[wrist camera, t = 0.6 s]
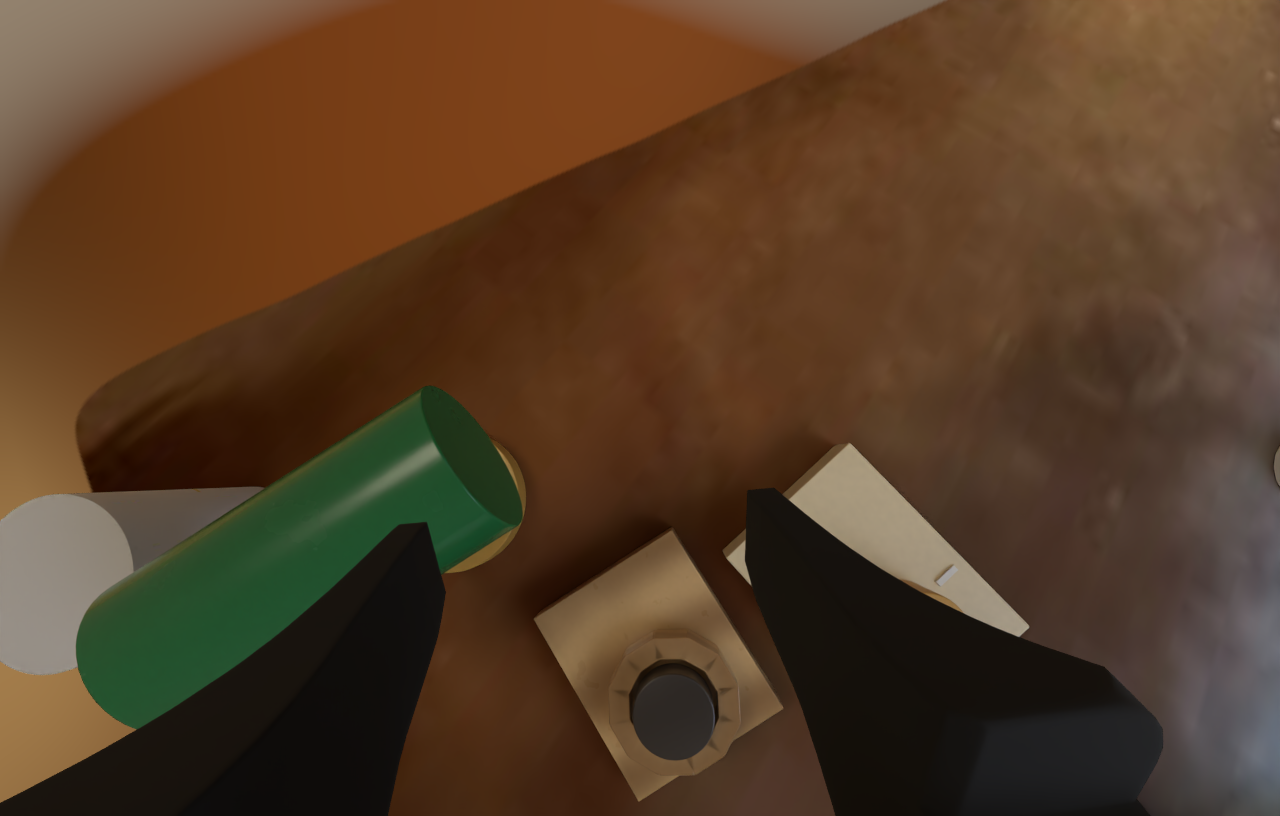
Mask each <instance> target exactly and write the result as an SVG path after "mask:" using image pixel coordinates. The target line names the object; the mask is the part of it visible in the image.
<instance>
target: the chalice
mask: <svg viewBox="0 0 1280 816" xmlns="http://www.w3.org/2000/svg"><path fill="white" fill-rule="evenodd" d="M1274 471H1275V476H1276V481H1277V482H1278V484H1279V486H1280V447H1279V449H1278V451H1277V452H1276V454H1275V461H1274Z"/></svg>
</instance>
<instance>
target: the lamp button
mask: <svg viewBox="0 0 1280 816" xmlns="http://www.w3.org/2000/svg"><path fill="white" fill-rule="evenodd" d="M632 718H633V725H634V729H635V732H636V734H637V736H638V738H639V740H640V741H641V743H642V744H643V745H644V746H645V748H646V749H648V750H649V751H650V752H651V753H653V754H654V755H656V756H658V757H660V758H663V759H666V760H674V761H677V760H684V759H688V758H690V757H692V756H694V755H696V754H697V753H699V752H700V751H701V750H702V749H703V748H704V747H705V746H706V745H707V743H708V742H709V740H710V738H711V736H712V734H713V730H714V726H715V711H714V704H713V698H712V694H711V691H710V688H709V686H708V684H707V683H706V681H705V680H704V678H703V677H702V676H701V675H700V674H699V673H698V672H696V671H695V670H694V669H692V668H690V667H688V666H685V665H682V664H677V663H669V664H663V665H660V666H657V667H656V668H654V669H652V670H651V671H649V672H648V673H647V674H646V675H645V676H644V677H643V679H642V680H641V682H640V684H639V686H638V688H637V691H636V695H635V700H634V705H633V713H632Z"/></svg>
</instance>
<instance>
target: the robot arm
mask: <svg viewBox="0 0 1280 816" xmlns="http://www.w3.org/2000/svg"><path fill="white" fill-rule="evenodd" d="M745 563H746V567H747V571H748V574H749V578H750V581H751V585H752V588H753V591H754V595H755V598H756V601H757V603H758V606H759V608H760V611H761V613H762V615H763V618H764V620H765V622H766V625H767V627H768V629H769V632H770V634H771V636H772V638H773V641H774V643H775V645H776V648H777V650H778V652H779V655H780V657H781V659H782V661H783V664H784V666H785V668H786V671H787V673H788V675H789V678H790V680H791V682H792V684H793V687H794V689H795V692H796V694H797V697H798V699H799V702H800V705H801V707H802V710H803V713H804V716H805V719H806V722H807V725H808V728H809V731H810V734H811V738H812V741H813V744H814V747H815V750H816V753H817V756H818V759H819V763H820V766H821V769H822V772H823V776H824V779H825V782H826V786H827V789H828V792H829V795H830V799H831V802H832V805H833V809H834V812H835V815H836V816H1150V814H1149V813H1148V812H1147V811H1146V810H1145V809H1144V807H1143V806H1142V805H1141V804H1140V803H1139V801H1138V800H1137V799H1136V798H1137V797H1138V795H1139V793H1140V792H1141V790H1142V788H1143V786H1144V785H1145V783H1146V781H1147V779H1148V778H1149V776H1150V774H1151V772H1152V771H1153V769H1154V767H1155V765H1156V764H1157V762H1158V759H1159V757H1160V754H1161V751H1162V749H1163V729H1162V727H1161V726H1160V724H1159V722H1158V721H1157V719H1156V718H1155V717H1154V716H1153V715H1152V714H1151V713H1150V712H1149V711H1148V710H1147V709H1146V708H1145V707H1144V706H1143V705H1142V704H1141V703H1140V702H1139V701H1138V700H1137V699H1136V698H1135V697H1134V696H1133V695H1132V694H1131V693H1130V692H1129V691H1128V690H1127V689H1126V688H1125V687H1124V686H1123V685H1122V684H1121V683H1120V682H1119V681H1118V680H1117V679H1116V678H1115V677H1114V676H1113V675H1112V674H1111V673H1110V672H1109V671H1108V670H1107V669H1106V668H1105V667H1103V666H1100V665H1097V664H1094V663H1091V662H1088V661H1085V660H1082V659H1079V658H1076V657H1073V656H1071V655H1068V654H1065V653H1062V652H1059V651H1056V650H1053V649H1050V648H1047V647H1044V646H1041V645H1038V644H1036V643H1033V642H1030V641H1028V640H1025V639H1023V638H1020V637H1018V636H1015V635H1013V634H1010V633H1008V632H1005V631H1003V630H1001V629H998V628H996V627H993V626H991V625H989V624H986V623H984V622H982V621H980V620H977V619H975V618H973V617H971V616H968V615H966V614H964V613H962V612H960V611H958V610H956V609H954V608H952V607H950V606H948V605H946V604H944V603H942V602H939V601H937V600H935V599H934V598H932V597H930V596H928V595H926V594H924V593H922V592H920V591H918V590H917V589H915V588H913V587H911V586H910V585H908V584H906V583H905V582H903V581H901V580H899V579H898V578H896V577H894V576H892V575H891V574H889V573H887V572H886V571H884V570H883V569H881V568H879V567H878V566H876V565H875V564H873V563H872V562H870V561H869V560H867V559H866V558H864V557H863V556H861V555H860V554H859V553H857V552H856V551H854V550H853V549H851V548H850V547H848V546H847V545H846V544H844V543H843V542H841V541H840V540H839V539H837V538H836V537H835V536H833V535H832V534H831V533H829V532H828V531H827V530H826V529H824V528H823V527H822V526H820V525H819V524H818V523H817V522H815V521H814V520H813V519H812V518H810V517H809V516H808V515H807V514H805V513H804V512H803V511H802V510H800V509H799V508H798V507H797V506H796V505H794V504H793V503H792V502H791V501H790V500H788V499H787V498H786V497H785V496H783V495H782V494H781V493H780V492H779V491H777V490H776V489H775V488H766V489H756V490H748V491H747V516H746V540H745ZM445 594H446V591H445V587H444V584H443V580H442V576H441V572H440V569H439V565H438V561H437V557H436V554H435V550H434V546H433V543H432V539H431V535H430V531H429V528H428V524H427V522H419V523H409V524H399V525H398V526H397V527H395V528H394V529H393V530H392V531H391V532H390V533H389V534H388V535H387V536H386V537H385V538H383V539H382V540H381V541H380V542H379V543H378V544H377V545H376V546H375V547H374V548H373V549H372V550H371V551H370V552H369V553H368V554H367V555H366V556H365V557H364V558H363V559H362V560H361V561H360V562H359V563H358V564H357V565H355V566H354V567H353V568H352V569H351V570H350V571H349V572H348V573H347V574H346V575H345V576H344V577H343V578H342V579H341V580H340V581H339V582H337V583H336V584H335V585H334V586H333V587H332V588H331V589H330V590H329V591H328V592H327V593H325V594H324V595H323V596H322V597H321V598H320V599H318V600H317V601H316V602H315V603H314V604H313V605H312V606H310V607H309V608H308V609H307V610H306V611H305V612H304V613H302V614H301V615H300V616H299V617H298V618H297V619H296V620H294V621H293V622H292V623H291V624H290V625H288V626H287V627H286V628H285V629H284V630H282V631H281V632H280V633H279V634H277V635H276V636H275V637H274V638H272V639H271V640H270V641H268V642H267V643H266V644H265V645H263V646H262V647H261V648H259V649H258V650H256V651H255V652H254V653H252V654H251V655H250V656H248V657H247V658H246V659H244V660H243V661H242V662H240V663H239V664H238V665H236V666H235V667H233V668H232V669H231V670H229V671H228V672H226V673H225V674H223V675H222V676H220V677H219V678H217V679H216V680H214V681H213V682H211V683H210V684H208V685H207V686H205V687H204V688H202V689H201V690H199V691H198V692H196V693H195V694H193V695H192V696H190V697H189V698H187V699H186V700H184V701H183V702H181V703H180V704H178V705H177V706H175V707H173V708H172V709H170V710H169V711H167V712H165V713H164V714H162V715H160V716H159V717H157V718H155V719H154V720H152V721H151V722H149V723H147V724H146V725H144V726H142V727H141V728H139V729H137V730H136V731H134V732H132V733H130V734H129V735H127V736H125V737H123V738H122V739H120V740H118V741H116V742H115V743H113V744H111V745H109V746H108V747H106V748H104V749H102V750H101V751H99V752H97V753H95V754H93V755H92V756H90V757H88V758H86V759H84V760H82V761H81V762H79V763H77V764H75V765H73V766H71V767H69V768H67V769H65V770H63V771H61V772H59V773H57V774H56V775H54V776H52V777H50V778H48V779H46V780H44V781H42V782H40V783H38V784H36V785H34V786H33V787H31V788H29V789H27V790H25V791H23V792H21V793H19V794H17V795H15V796H13V797H11V798H9V799H7V800H5V801H3V802H1V803H0V816H388V812H389V807H390V803H391V798H392V794H393V789H394V784H395V780H396V775H397V770H398V766H399V761H400V757H401V754H402V750H403V746H404V743H405V739H406V736H407V732H408V729H409V726H410V723H411V720H412V717H413V714H414V711H415V707H416V704H417V701H418V698H419V695H420V692H421V689H422V686H423V683H424V679H425V676H426V673H427V670H428V667H429V664H430V660H431V657H432V654H433V651H434V648H435V644H436V641H437V638H438V634H439V628H440V623H441V618H442V612H443V606H444V600H445Z"/></svg>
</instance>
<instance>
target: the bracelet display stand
mask: <svg viewBox="0 0 1280 816" xmlns="http://www.w3.org/2000/svg"><path fill="white" fill-rule="evenodd" d="M525 507H526V488H525V483H524V478H523V476H522V473H521V470H520V468H519V466H518V464H517V462H516V461H515V459H514V458H513V457H512V455H511V454H510V453H509V452H508V451H507V450H506V449H505V448H504V447H503V446H502V445H501V444H499V443H498V442H496V441H495V440H493V439H491V438H489V437H488V436H487V434H486V433H485V432H484V430H483V429H482V428H481V426H480V425H479V424H478V423H477V421H476V420H475V419H474V418H473V417H472V416H471V415H470V413H469V412H468V411H467V410H466V409H465V408H464V407H463V406H462V405H461V404H460V403H459V402H458V401H456V400H455V399H454V398H453V397H452V396H450V395H449V394H448V393H446V392H445V391H443V390H441V389H439V388H437V387H435V386H425V387H423V388H421V389H420V390H418V391H416V392H415V393H413V394H412V395H410V396H409V397H407V398H405V399H404V400H402V401H401V402H399V403H398V404H396V405H394V406H393V407H391V408H390V409H388V410H387V411H385V412H384V413H382V414H380V415H379V416H377V417H376V418H374V419H373V420H371V421H369V422H368V423H366V424H365V425H363V426H362V427H360V428H358V429H357V430H355V431H354V432H352V433H351V434H349V435H347V436H346V437H344V438H343V439H341V440H340V441H338V442H337V443H335V444H333V445H332V446H330V447H329V448H327V449H326V450H324V451H322V452H321V453H319V454H318V455H316V456H315V457H313V458H311V459H310V460H308V461H307V462H305V463H304V464H302V465H301V466H299V467H297V468H296V469H294V470H293V471H291V472H290V473H288V474H286V475H285V476H283V477H282V478H280V479H279V480H277V481H275V482H274V483H272V484H271V485H269V486H268V487H266V488H265V489H263V490H261V491H260V492H258V493H257V494H255V495H254V496H252V497H250V498H249V499H247V500H246V501H244V502H243V503H241V504H239V505H238V506H236V507H235V508H233V509H232V510H230V511H229V512H227V513H225V514H224V515H222V516H221V517H219V518H218V519H216V520H214V521H213V522H211V523H210V524H208V525H207V526H205V527H203V528H202V529H200V530H199V531H197V532H196V533H194V534H193V535H191V536H189V537H188V538H186V539H185V540H183V541H182V542H180V543H178V544H177V545H175V546H174V547H172V548H171V549H169V550H167V551H166V552H164V553H163V554H161V555H160V556H158V557H156V558H155V559H153V560H152V561H150V562H149V563H147V564H146V565H144V566H142V567H141V568H139V569H138V570H136V571H135V572H133V573H131V574H130V575H128V576H127V577H125V578H124V579H122V580H120V581H119V582H117V583H116V584H114V585H113V586H111V587H110V588H108V589H107V590H105V591H104V592H103V593H102V594H100V595H99V596H98V597H97V598H96V599H95V600H94V601H93V602H92V604H91V605H90V607H89V608H88V610H87V611H86V612H85V614H84V616H83V619H82V621H81V623H80V626H79V629H78V633H77V638H76V660H77V665H78V670H79V673H80V675H81V678H82V681H83V683H84V685H85V687H86V688H87V690H88V692H89V693H90V695H91V696H92V697H93V699H94V700H95V701H96V703H98V705H99V706H101V708H102V709H103V710H104V711H105V712H107V713H108V714H109V715H111V716H112V717H113V718H115V719H116V720H118V721H120V722H121V723H123V724H125V725H127V726H130V727H132V728H134V729H139V728H141V727H142V726H144V725H146V724H147V723H149V722H151V721H152V720H154V719H155V718H157V717H159V716H160V715H162V714H164V713H165V712H167V711H169V710H170V709H172V708H173V707H175V706H177V705H178V704H180V703H181V702H183V701H184V700H186V699H187V698H189V697H190V696H192V695H193V694H195V693H196V692H198V691H199V690H201V689H202V688H204V687H205V686H207V685H208V684H210V683H211V682H213V681H214V680H216V679H217V678H219V677H220V676H222V675H223V674H225V673H226V672H228V671H229V670H231V669H232V668H233V667H235V666H236V665H238V664H239V663H240V662H242V661H243V660H244V659H246V658H247V657H248V656H250V655H251V654H252V653H254V652H255V651H256V650H258V649H259V648H261V647H262V646H263V645H265V644H266V643H267V642H268V641H270V640H271V639H272V638H274V637H275V636H276V635H277V634H279V633H280V632H281V631H282V630H284V629H285V628H286V627H287V626H288V625H290V624H291V623H292V622H293V621H294V620H296V619H297V618H298V617H299V616H300V615H301V614H302V613H304V612H305V611H306V610H307V609H308V608H309V607H310V606H312V605H313V604H314V603H315V602H316V601H317V600H318V599H320V598H321V597H322V596H323V595H324V594H325V593H327V592H328V591H329V590H330V589H331V588H332V587H333V586H334V585H335V584H336V583H337V582H339V581H340V580H341V579H342V578H343V577H344V576H345V575H346V574H347V573H348V572H349V571H350V570H351V569H352V568H353V567H354V566H355V565H357V564H358V563H359V562H360V561H361V560H362V559H363V558H364V557H365V556H366V555H367V554H368V553H369V552H370V551H371V550H372V549H373V548H374V547H375V546H376V545H377V544H378V543H379V542H380V541H381V540H382V539H383V538H385V537H386V536H387V535H388V534H389V533H390V532H391V531H392V530H393V529H394V528H395V527H397V526H398V525H399V524H409V523H419V522H427V524H428V528H429V531H430V535H431V539H432V543H433V546H434V550H435V554H436V557H437V561H438V565H439V569H440V572H441V575H442V574H444V573H454V572H461V571H465V570H469V569H471V568H474V567H476V566H478V565H481V564H483V563H485V562H487V561H489V560H490V559H492V558H494V557H495V556H497V555H498V554H499V553H501V552H502V551H503V550H504V549H505V548H506V547H507V546H508V545H509V543H510V542H511V541H512V540H513V538H514V537H515V535H516V533H517V532H518V530H519V527H520V525H521V523H522V520H523V517H524V513H525Z"/></svg>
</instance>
